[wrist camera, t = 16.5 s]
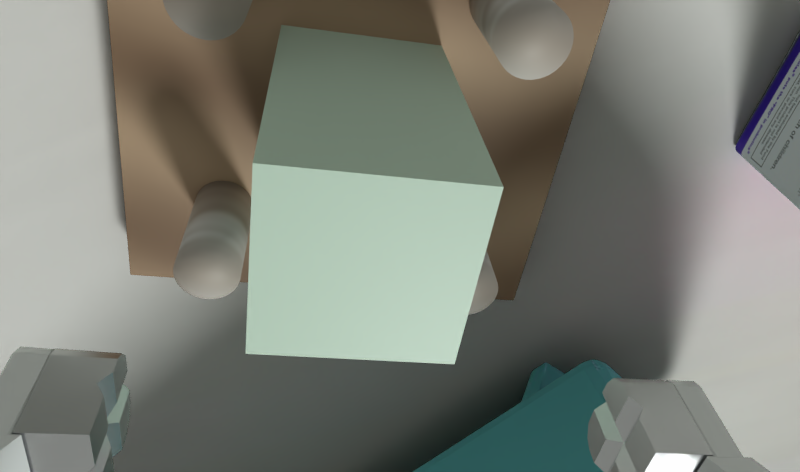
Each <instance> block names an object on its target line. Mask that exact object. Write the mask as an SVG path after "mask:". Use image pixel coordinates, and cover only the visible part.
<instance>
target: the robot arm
mask: <svg viewBox="0 0 800 472" xmlns="http://www.w3.org/2000/svg"><path fill="white" fill-rule="evenodd" d="M127 371H128V370H127V363H126V356H125V355H124V354H121V353H108V352H94V351H81V350H68V349H46V348H33V347H20V348H19V349H17V350H16V351H15V352H14V353H13V354H12V355H11V357H10V359H9V360H8V362H7V364H6V366H5V367H4V369H3V371H2V373H1V375H0V472H114V466H113V458H112V457H114V456H115V455H116V454H117V453H118V452H120V451H121V450H122V448H123V445H124V442H125V438H126V435H127V430H128V424H129V418H130V404H131V400H130V390H129V389H128V388H127V387H126V386H125V385H124V384H123V383H124V380H125V377H126V374H127ZM602 393H603V396H604V398H605V400H606V402H605V403H603V404H602V405H600V406H599V407H597V408H596V409H595V410H594V411H593V413H592V416H591V418H590V420H589V423H588V436H587V439H588V445H589V450H590V453H591V456H592V459H593V461H594V463H595V464H596V465H597V466H598V467H599V468H600V469H601V470H602V471H603V472H770V471H769V470H767V469H766V468H765V467H763V466H762V465H761V464H759V463H758V462H757V461H755V460H754V459H753V458H748V457H743V456H742V454H741V452H740V451H739V449H738V447H737V446H736V444H735V442H734V441H733V439H732V437H731V436H730V434H729V433H728V431H727V429H726V428H725V426H724V424H723V423H722V421H721V419H720V418H719V416H718V414H717V413H716V411H715V409H714V408H713V406H712V405H711V403H710V401H709V400H708V398H707V396H706V395H705V393H704V391H703V390H702V388H701V387H700V386H699V385H698V384H696V383H695V382H694V381H673V380H667V381H664V380H650V379H625V378H613V379H612V380H610V381H609V382H608V383H607V384H606V386H605V388H604V390H603V392H602Z"/></svg>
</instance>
